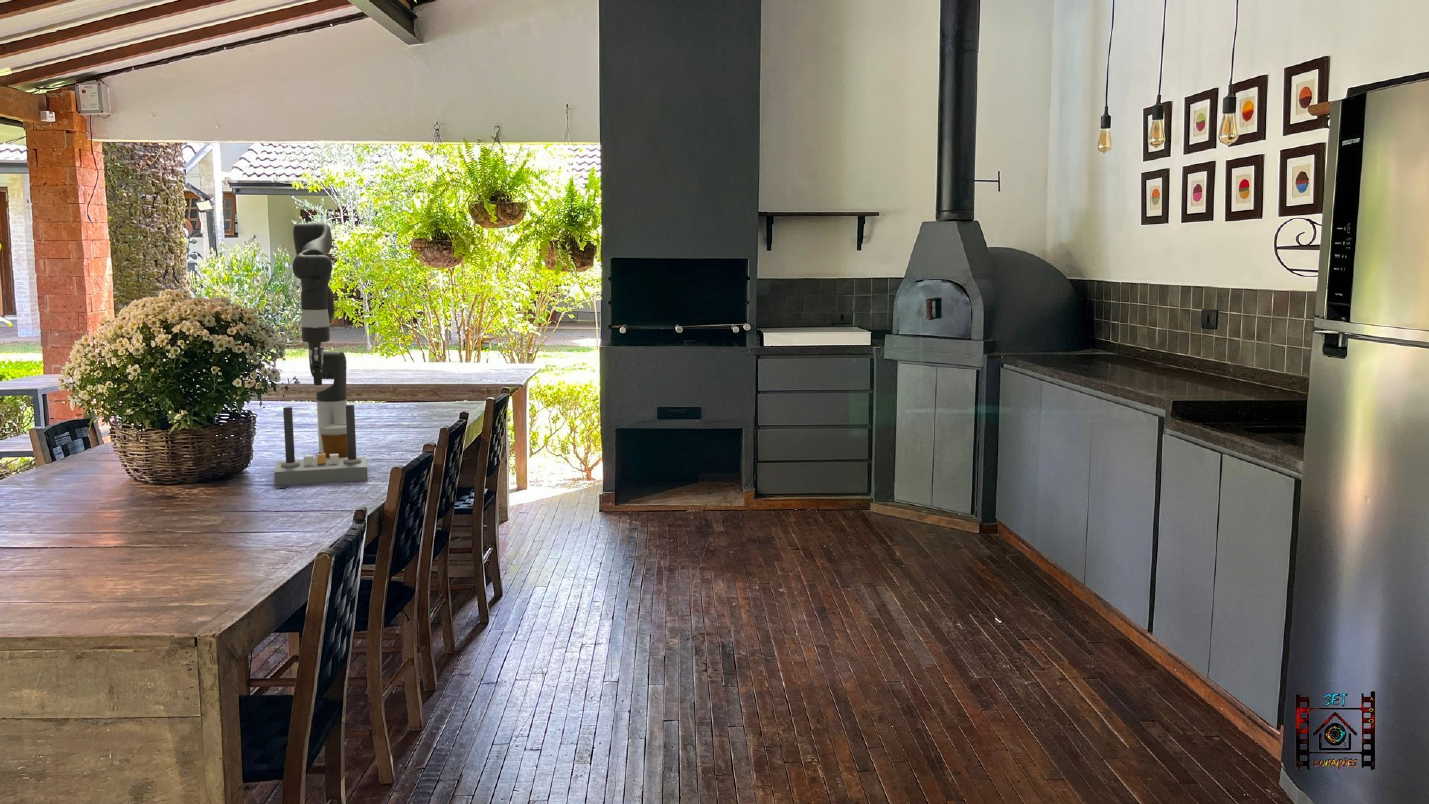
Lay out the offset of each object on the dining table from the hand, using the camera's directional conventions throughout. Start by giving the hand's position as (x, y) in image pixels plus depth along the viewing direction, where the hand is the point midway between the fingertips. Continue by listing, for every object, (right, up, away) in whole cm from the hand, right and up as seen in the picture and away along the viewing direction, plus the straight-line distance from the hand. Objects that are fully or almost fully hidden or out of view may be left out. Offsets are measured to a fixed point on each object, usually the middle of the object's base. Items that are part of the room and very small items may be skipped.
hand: (318, 384), depth 312 cm
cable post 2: (+8, -23, +6) cm, 25 cm away
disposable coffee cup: (-3, -24, +23) cm, 34 cm away
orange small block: (0, -23, +3) cm, 23 cm away
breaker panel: (0, -27, +4) cm, 27 cm away
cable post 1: (-8, -23, +1) cm, 25 cm away
